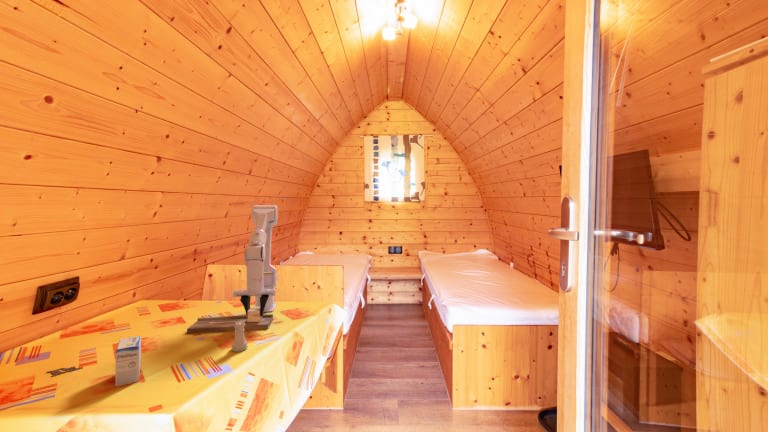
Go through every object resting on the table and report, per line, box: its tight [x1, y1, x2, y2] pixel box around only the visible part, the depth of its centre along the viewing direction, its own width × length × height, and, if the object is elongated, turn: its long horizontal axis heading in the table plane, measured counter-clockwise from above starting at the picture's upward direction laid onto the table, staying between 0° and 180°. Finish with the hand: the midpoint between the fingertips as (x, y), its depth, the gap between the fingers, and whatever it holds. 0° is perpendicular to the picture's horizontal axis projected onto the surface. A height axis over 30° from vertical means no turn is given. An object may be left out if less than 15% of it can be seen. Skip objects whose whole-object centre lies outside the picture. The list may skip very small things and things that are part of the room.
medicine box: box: [114, 335, 142, 387], centre depth 77 cm, size 8×4×9 cm, turn 35°
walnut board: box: [186, 313, 274, 334], centre depth 113 cm, size 10×26×2 cm, turn 99°
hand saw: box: [45, 366, 84, 378], centre depth 88 cm, size 24×5×1 cm, turn 141°
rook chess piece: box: [231, 321, 248, 353], centre depth 94 cm, size 4×4×8 cm
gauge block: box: [248, 306, 262, 322], centre depth 115 cm, size 5×4×4 cm
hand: (255, 315), depth 115 cm, fingers closed on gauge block, 4 cm apart
